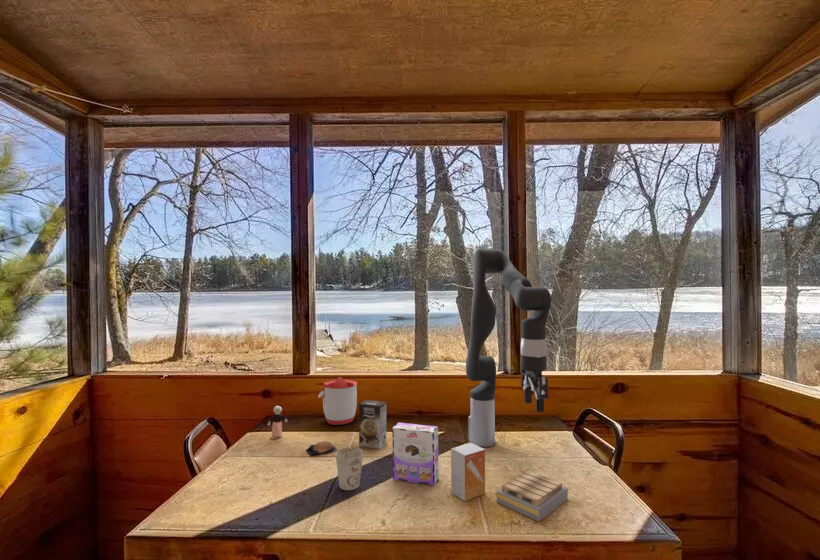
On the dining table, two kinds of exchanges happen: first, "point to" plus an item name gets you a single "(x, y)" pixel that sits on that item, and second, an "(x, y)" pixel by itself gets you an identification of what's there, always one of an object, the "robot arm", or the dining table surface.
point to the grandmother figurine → (277, 422)
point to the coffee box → (372, 424)
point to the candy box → (415, 453)
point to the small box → (467, 471)
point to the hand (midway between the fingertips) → (533, 407)
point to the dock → (526, 506)
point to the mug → (349, 467)
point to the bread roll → (321, 449)
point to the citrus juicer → (339, 401)
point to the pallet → (532, 487)
